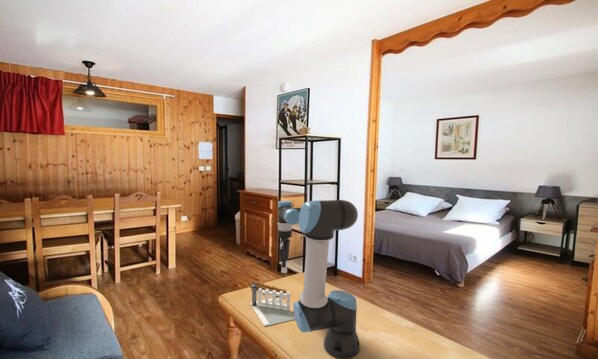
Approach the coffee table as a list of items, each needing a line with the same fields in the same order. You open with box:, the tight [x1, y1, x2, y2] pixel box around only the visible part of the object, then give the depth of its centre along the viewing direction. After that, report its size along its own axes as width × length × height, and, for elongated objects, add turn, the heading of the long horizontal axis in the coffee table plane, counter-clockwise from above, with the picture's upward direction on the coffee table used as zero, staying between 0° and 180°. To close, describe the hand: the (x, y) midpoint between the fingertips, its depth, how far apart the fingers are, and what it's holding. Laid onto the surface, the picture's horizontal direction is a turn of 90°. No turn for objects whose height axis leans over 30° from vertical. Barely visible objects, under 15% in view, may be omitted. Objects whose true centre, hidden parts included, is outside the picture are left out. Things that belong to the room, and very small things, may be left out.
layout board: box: [249, 296, 296, 327], centre depth 157 cm, size 25×17×1 cm
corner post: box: [250, 284, 258, 307], centre depth 161 cm, size 3×3×12 cm
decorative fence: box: [247, 280, 287, 298], centre depth 180 cm, size 25×2×10 cm
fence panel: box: [257, 288, 292, 310], centre depth 158 cm, size 18×2×9 cm, turn 75°
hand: (284, 272), depth 162 cm, fingers closed
